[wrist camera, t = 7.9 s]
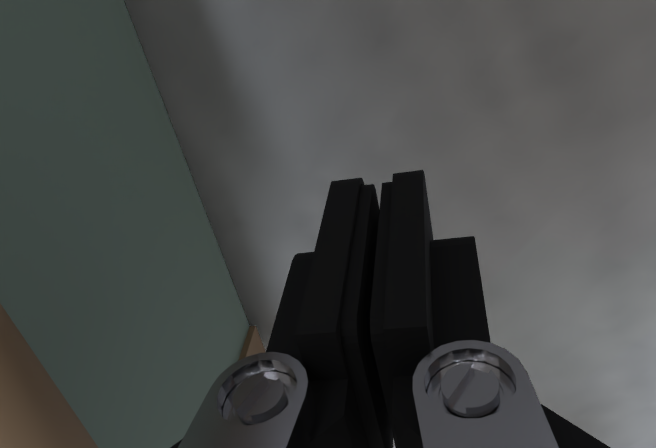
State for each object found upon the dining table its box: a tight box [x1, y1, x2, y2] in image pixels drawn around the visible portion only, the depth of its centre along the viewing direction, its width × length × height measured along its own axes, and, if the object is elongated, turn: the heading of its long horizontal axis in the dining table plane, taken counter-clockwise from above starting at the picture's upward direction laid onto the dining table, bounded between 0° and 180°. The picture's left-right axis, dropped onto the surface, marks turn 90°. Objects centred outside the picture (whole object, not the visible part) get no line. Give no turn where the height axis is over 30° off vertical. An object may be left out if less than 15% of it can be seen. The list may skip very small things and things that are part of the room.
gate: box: [0, 0, 265, 448], centre depth 12 cm, size 15×2×8 cm, turn 12°
